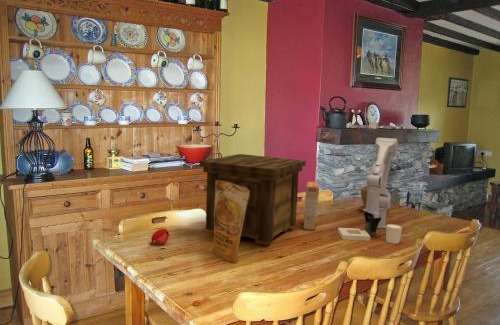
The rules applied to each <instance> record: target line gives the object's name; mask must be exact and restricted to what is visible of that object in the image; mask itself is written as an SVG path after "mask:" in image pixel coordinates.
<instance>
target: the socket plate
mask: <svg viewBox="0 0 500 325" xmlns="http://www.w3.org/2000/svg"><path fill="white" fill-rule="evenodd" d="M337 233H338V234H339V236H340V237H341V239H342V240H345V241H362V242H364V241H365V242H366V241H367V242H371V235H369V234H368V233H367V232H366V231H365V229H364V228H363V227H359V228H351V227H338V228H337Z"/></svg>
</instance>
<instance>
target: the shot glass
mask: <svg viewBox="0 0 500 325" xmlns="http://www.w3.org/2000/svg"><path fill="white" fill-rule="evenodd" d="M385 225H386V228H385V241H386V242H387V243H389V244H396V245H397V244H400V240H401V235H402V231H403V226H401V225H399V224H393V223H392V224H391V223H389V224H388V223H387V224H385Z"/></svg>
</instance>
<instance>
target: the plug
mask: <svg viewBox="0 0 500 325" xmlns="http://www.w3.org/2000/svg"><path fill="white" fill-rule="evenodd" d="M365 231H366V232H367V233H368V234H369V235H370V236H377V231H376V232H371V231H370V222H366V221H365Z"/></svg>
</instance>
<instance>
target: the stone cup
mask: <svg viewBox="0 0 500 325" xmlns="http://www.w3.org/2000/svg"><path fill="white" fill-rule="evenodd" d="M360 196H361V199H362V202H363V203H362V205H361V206H359V210H360V211H363V209H366V203H367V185H363V186H362V187H361V188H360ZM389 211H390V208H389V209H387V211H386V214H387V213H388V212H389Z"/></svg>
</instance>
